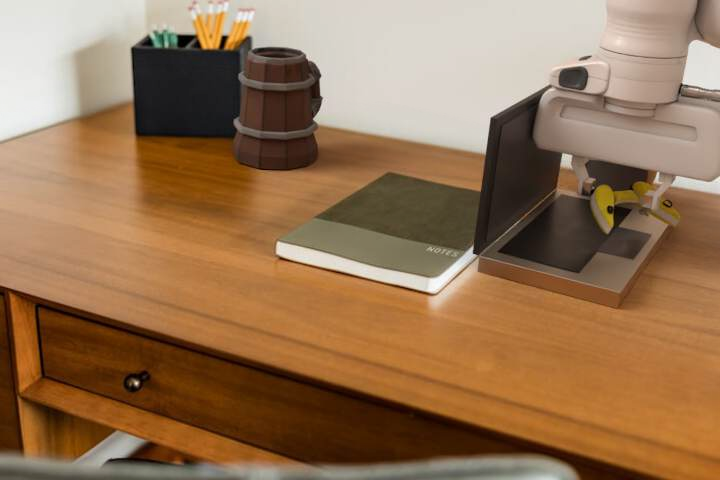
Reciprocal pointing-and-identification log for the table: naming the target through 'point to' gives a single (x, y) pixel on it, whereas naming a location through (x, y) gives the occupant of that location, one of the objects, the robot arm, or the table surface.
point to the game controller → (606, 200)
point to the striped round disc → (617, 175)
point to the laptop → (577, 249)
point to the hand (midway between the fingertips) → (616, 201)
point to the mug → (278, 109)
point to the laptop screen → (513, 171)
